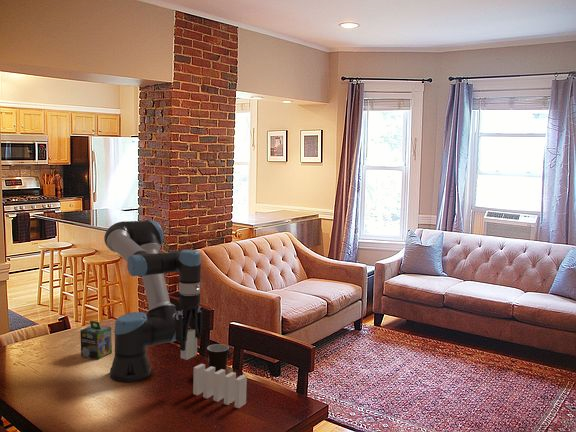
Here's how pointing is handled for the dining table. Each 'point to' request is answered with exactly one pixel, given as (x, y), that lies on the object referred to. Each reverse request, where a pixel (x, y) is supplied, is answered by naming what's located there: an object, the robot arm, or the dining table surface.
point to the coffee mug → (218, 356)
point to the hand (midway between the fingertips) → (188, 356)
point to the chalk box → (96, 341)
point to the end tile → (191, 343)
